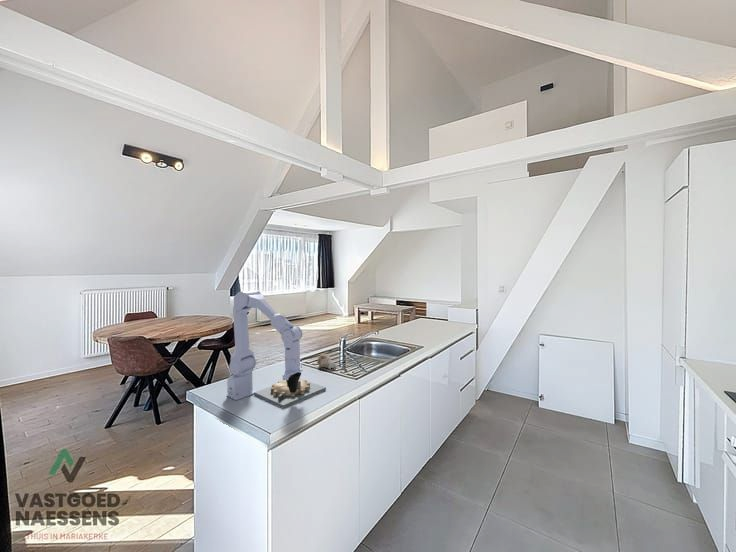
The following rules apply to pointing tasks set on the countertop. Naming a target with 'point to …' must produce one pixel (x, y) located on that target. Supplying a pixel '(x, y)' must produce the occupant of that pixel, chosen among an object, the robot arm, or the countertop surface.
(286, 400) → the base board
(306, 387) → the sprocket
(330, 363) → the beige rounded lump
